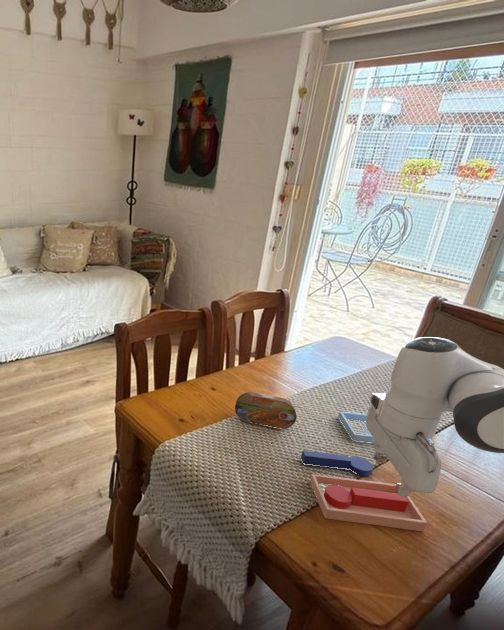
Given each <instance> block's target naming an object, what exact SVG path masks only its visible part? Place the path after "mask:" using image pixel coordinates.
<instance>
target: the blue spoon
mask: <svg viewBox="0 0 504 630" xmlns="http://www.w3.org/2000/svg"><path fill="white" fill-rule="evenodd" d="M301 459H302V461H303V463H305V464H313V465H320V466H329V467H338V468H347V469H349V468H350V469H351V470H352V471H354V472H356V473H357V474H355V473H353V472H352V471H351V470H345V469H337V468H329V467H320V466H312V465H304V464H303V463H302V461H301ZM300 462H301V465H302V466H306V467H312V468H313V467H314V468H322V469H330V470H338V471H346V472H350V473H352V474H353V475H355V476H358V477H362V478H369V477H371V476H372V473H373V470H374V465H373V464H372V462H371V461H369V460H368V459H366V458H364V457H362V456H358V455H351V456H349V455H346V454H336V453H331V452H330V453H328V452H321V451H311V450H304V449H303V450H302V452H301V456H300ZM358 474H359V475H358Z"/></svg>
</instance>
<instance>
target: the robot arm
mask: <svg viewBox="0 0 504 630" xmlns="http://www.w3.org/2000/svg"><path fill="white" fill-rule="evenodd" d="M389 383H390V384H389V385H390V386H389V389H388V390H387V392H386V393H383V392H381V393H379V392H372V393H371V394H370V397H369V402H370V404H369V406H368V409H367V413H366V414H367V418H366V426H367V429H368V431H369V432H370V433H371V435H372V436H373V438H374V444H373V446H374V453H373V459H374V460H375V461H376V463H377V464H385V463H386V462H387V459H388V460H389V462H390V463H391V465H392V466H393V467H394V469H395V470H396V473H398V475H399V477H401V483H395V484H396V488H395V490H396V492H397V493H398V495H399V496H403V497H408V496H409V497H410V493H411V492H413V493H421V494H432V493H435V492H436V490H437V487H438V485H439V479H440V475H441V470H442V459H441V457H440V455H439V454H438V452H437V448H436V446H433V445H432V444H431V443H430V442H429V440H428V439H431V440H432V439H433V438H434V437H435V435H436V433H437V429H438V427H439V423H440V421H441V418H442V415H443V413H444V412H450V413H452V418H453V425H454V429H455V431H456V433H457V434H458V436H459V437H460V438H461V439H462V440H463V442H465V443H467V444H468V445H470V446H472V447H474V448H476V449H479V450H482V451H484V452H488V453H495V454H504V368H502V367H501V366H499V365H497V364H493V363H490V362H486V361H484V360H481V359H479V358H476V357H474V356H472V355H471V354H469V353H468V352H467V351H465V350H464V349H462V348H461V347H460V346H459V345H458V344H457V343H456V342H454V341H451V340H450V339H446V338H443V337H442V338H441V337H436V336H435V337H433V336H423V337H416V338H413V339H411V340H408V341H407V342H405V344H403V346H402V348H401V349H400V350H399V353H398V355H397V356H396V359H395V361H394V364H393V367H392V369H391V373H390V377H389Z"/></svg>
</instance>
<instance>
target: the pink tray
mask: <svg viewBox="0 0 504 630" xmlns="http://www.w3.org/2000/svg"><path fill="white" fill-rule="evenodd" d="M310 482H311V483H310ZM318 483H324V484H332V485H339V486H341V487H343V488H345V489H347V490H348V491H349V492H350V491H351V488H356V489H364V490H372V491H380V492H387V493H395V494H398V493H397V492H396V490H395V488H396V484H397V483H390V482H389V483H387V482H381V481H372V480H365V479H356V478H348V477H341V476H340V477H339V476H332V475H323V474H315V473H311V475H310V479H309V485H310V487H311V490H312V491H313V494H314V497H315V499H316V501H317V503H318V506H319V509H320V510H321V513H322V515H323V517H324V519H328V520H335V521H342V522H343V521H344V522H351V523H357V524H365V525H371V526H379V527H388V528H393V529H402V530H408V531H417V532H425V530H426V528H427V525H428V522H427V520H426V519H425V517H424V516H423V514H422V513H421V511H420V510H419V508H418V507H417V506H416V504H415V503H414V501H413V500H412V498H411V497H410V495H409V496H408V497H406V499H407V500H408V504H407V507H406V509H405V512H399V511H392V510H384V509H377V508H370V507H362V506H355V505H352V504H351V506H350V507H349V508H347V509H340V508H336V507H334V506H332V505H330V504H329V503H328V502H327V501H326V500H325V497H324V495H323V493H322V491H321V488H320V486H319V484H318ZM311 484H312V485H311ZM312 486H313V488H312ZM313 489H314V490H313ZM314 491H315V493H316V495H315V493H314ZM316 496H317V497H316ZM317 498H318V500H317Z"/></svg>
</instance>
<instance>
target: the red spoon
mask: <svg viewBox="0 0 504 630" xmlns="http://www.w3.org/2000/svg"><path fill="white" fill-rule="evenodd" d="M324 497H325V500H326V501H327V502H328V503H329V504H330V505H332V506H334V507H336V508H340V509H347V508H349V507H350V506H351V504H352V505H355V506H362V507H370V508H377V509H384V510H392V511H399V512H405V509H406V507H407V504H408V500H407V499H406V497H403V496H399V495H398V494H395V493H387V492H380V491H372V490H364V489H356V488H351V491H350V492H349V491H348V490H347V489H345V488H343V487H341V486H338V485H328V486H327V487H326V489H325V493H324Z"/></svg>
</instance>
